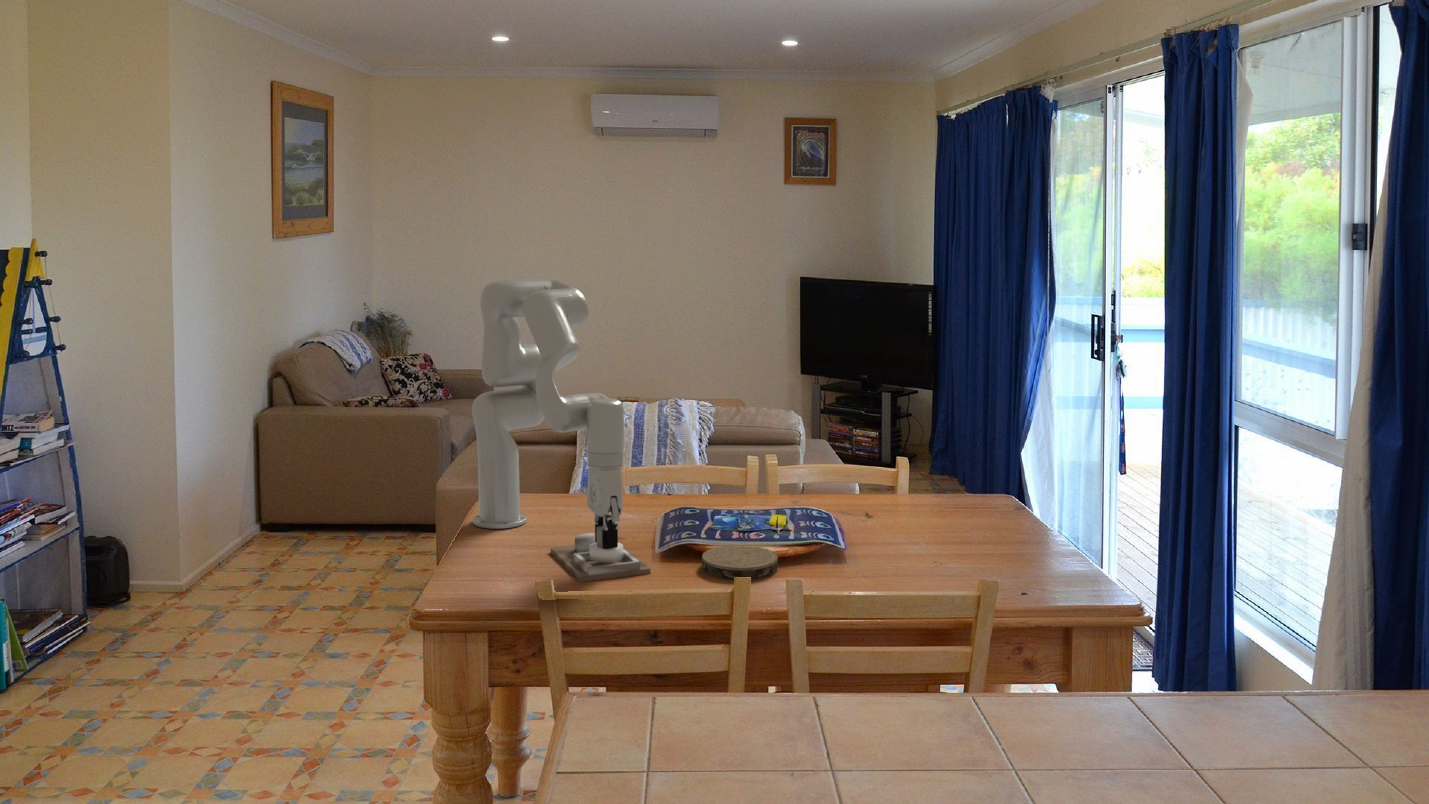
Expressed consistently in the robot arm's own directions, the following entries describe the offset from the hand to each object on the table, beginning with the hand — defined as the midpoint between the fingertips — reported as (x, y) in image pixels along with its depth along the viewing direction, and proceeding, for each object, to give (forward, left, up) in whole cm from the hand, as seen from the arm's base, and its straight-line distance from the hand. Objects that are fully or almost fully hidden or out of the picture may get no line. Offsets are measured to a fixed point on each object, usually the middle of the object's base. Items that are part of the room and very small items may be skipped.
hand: (606, 544), depth 250 cm
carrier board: (-5, 0, -5) cm, 7 cm away
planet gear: (0, 0, -3) cm, 3 cm away
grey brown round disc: (+10, +26, -6) cm, 28 cm away
